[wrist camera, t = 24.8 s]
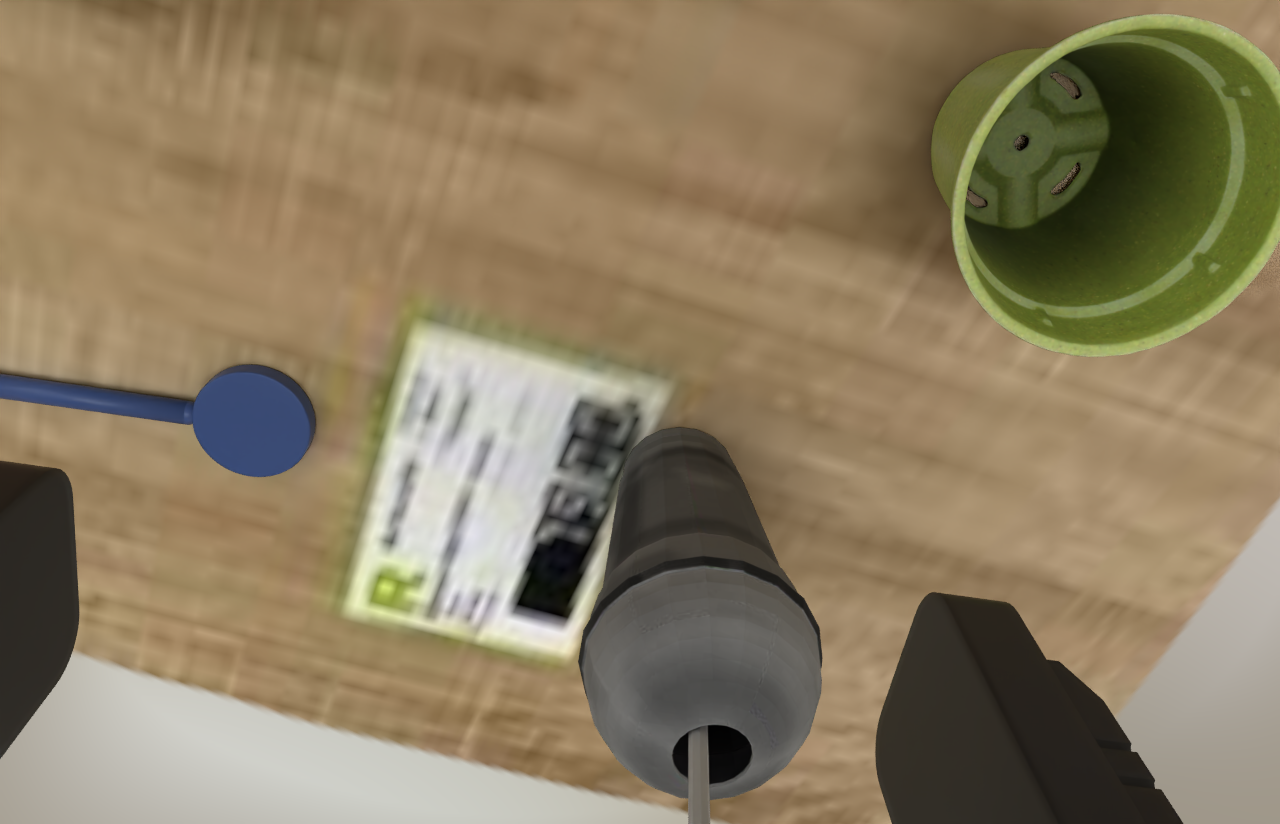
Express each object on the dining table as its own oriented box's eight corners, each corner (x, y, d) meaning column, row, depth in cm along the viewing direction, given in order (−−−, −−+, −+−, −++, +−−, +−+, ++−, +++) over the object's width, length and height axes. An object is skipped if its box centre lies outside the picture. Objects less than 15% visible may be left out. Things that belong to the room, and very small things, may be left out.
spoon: (-55, 424, 39) (-70, 434, 38) (-68, 316, 37) (-83, 324, 37) (313, 475, 41) (307, 486, 40) (318, 373, 39) (312, 382, 38)
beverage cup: (657, 585, 43) (689, 1054, 25) (550, 461, 41) (498, 882, 22) (803, 494, 41) (953, 925, 23) (701, 359, 39) (779, 724, 21)
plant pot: (1022, 319, 39) (1129, 415, 31) (825, 181, 36) (885, 246, 28) (1206, 103, 35) (1377, 149, 28) (1003, -63, 33) (1126, -66, 25)
